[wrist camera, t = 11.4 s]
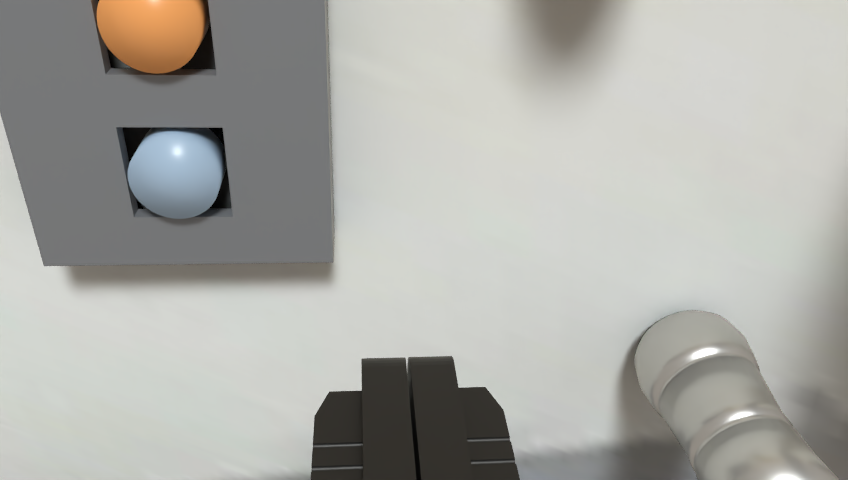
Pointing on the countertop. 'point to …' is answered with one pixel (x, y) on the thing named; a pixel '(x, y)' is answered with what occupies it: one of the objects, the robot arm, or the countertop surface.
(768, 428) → the plastic bottle
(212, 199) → the blue button
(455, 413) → the robot arm
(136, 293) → the countertop surface
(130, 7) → the orange button
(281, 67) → the button box
